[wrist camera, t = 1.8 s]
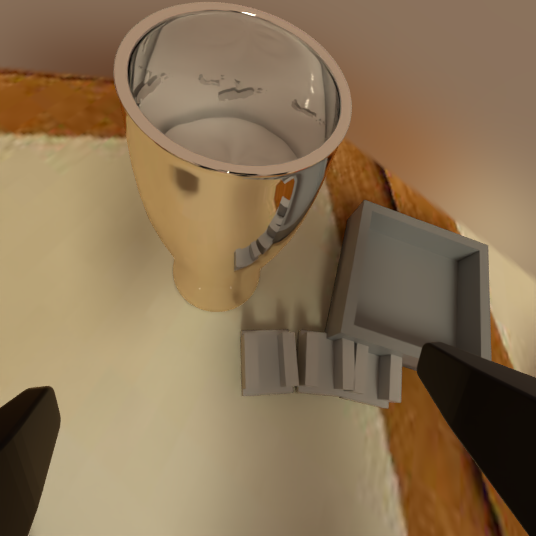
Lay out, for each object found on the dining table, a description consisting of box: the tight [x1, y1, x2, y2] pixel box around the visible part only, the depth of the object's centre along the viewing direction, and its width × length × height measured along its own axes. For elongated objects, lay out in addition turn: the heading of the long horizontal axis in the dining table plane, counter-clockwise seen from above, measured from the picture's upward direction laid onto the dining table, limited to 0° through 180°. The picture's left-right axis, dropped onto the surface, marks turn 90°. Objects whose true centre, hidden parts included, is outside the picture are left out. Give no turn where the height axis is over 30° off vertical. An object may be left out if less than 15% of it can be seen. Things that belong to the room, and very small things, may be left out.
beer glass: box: [113, 2, 352, 312], centre depth 15 cm, size 7×7×15 cm
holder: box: [325, 200, 491, 371], centre depth 23 cm, size 10×10×3 cm
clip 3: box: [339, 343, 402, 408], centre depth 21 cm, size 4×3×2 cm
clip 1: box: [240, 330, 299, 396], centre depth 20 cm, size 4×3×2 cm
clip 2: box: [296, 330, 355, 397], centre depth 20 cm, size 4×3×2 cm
